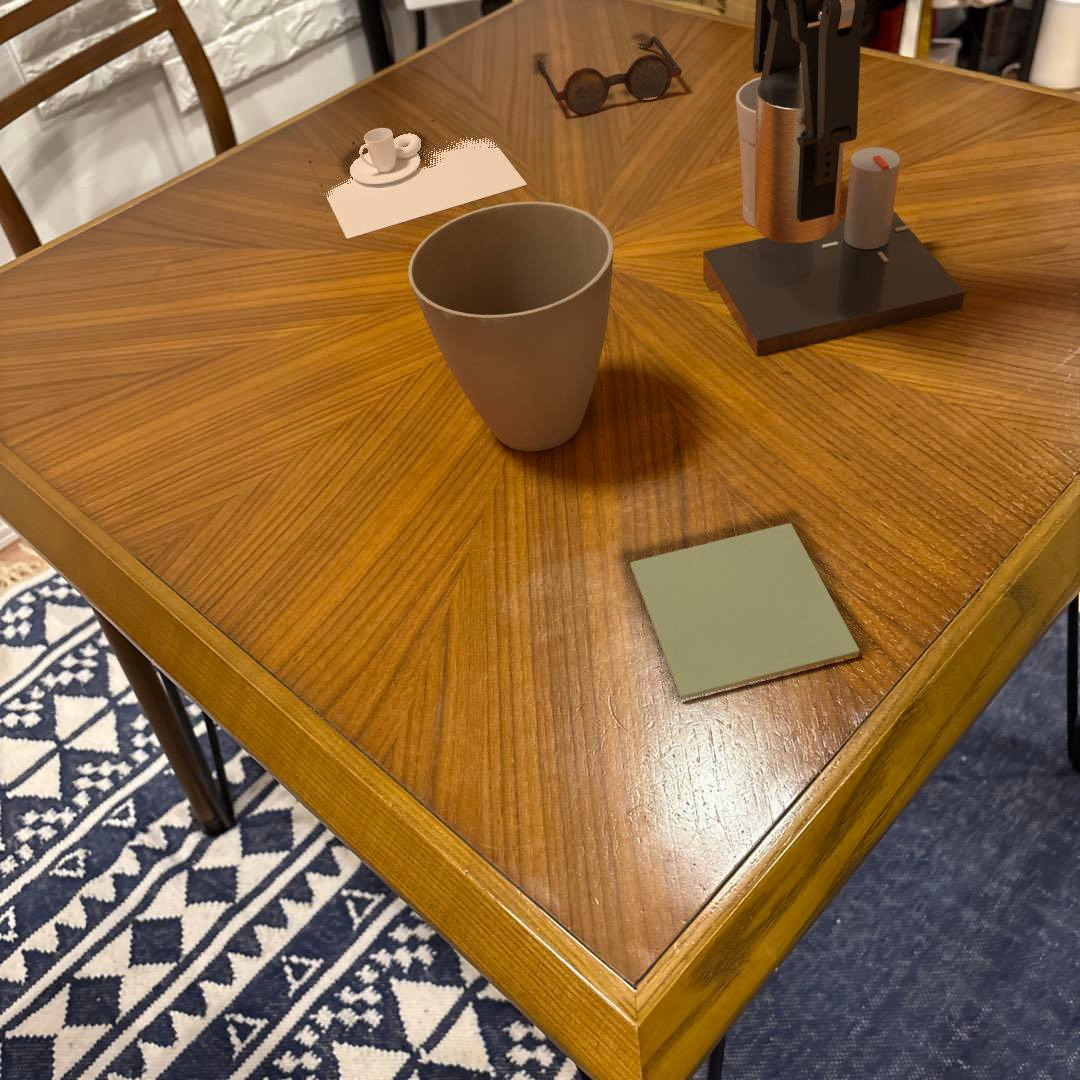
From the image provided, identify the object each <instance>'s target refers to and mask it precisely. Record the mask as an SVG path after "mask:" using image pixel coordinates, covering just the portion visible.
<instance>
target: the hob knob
mask: <svg viewBox="0 0 1080 1080" xmlns="http://www.w3.org/2000/svg"><path fill="white" fill-rule="evenodd" d="M849 164H850V165H849V173H848V185H847V195H846V204H845V205H846V206H845V215H844V220H845V225H844V235H843V238H844V240H845V242H846V243H847V244H848V245H850V246H852V247H855V248H858V249H876V248H879V247H882V246H884V245H885V244H886V243H887V242H888V241H889V239H890V234H891V226H892V219H893V211H894V212H895V210H894V209H895V204H896V203H895V202H896V196H897V188H898V181H899V173H900V165H901V157H900V155H899V153H897V152H896V151H895V150H892V149H890V148H887V147H881V146H880V147H879V146H871V147H865V148H862V149H859V150H857V151H856V152H854V153H853V154H852V155H851V157H850V163H849Z"/></svg>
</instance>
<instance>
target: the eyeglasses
mask: <svg viewBox="0 0 1080 1080" xmlns="http://www.w3.org/2000/svg"><path fill="white" fill-rule="evenodd" d="M654 44H655V45H656V46H657V48H658V49H659V51H660V52H661V54H662V55H663V56H664V58H665V59H666V60H665V59H664V58H663V57H661V56H659V55H656V54H644V55H641V56H640V57H638V58H636V59H635V60H634V61H633V62H632V63H631V64H630V66H629V67H628V69H627V71H626V72H624V73H616V74H611V75H609V76H604V75H603V74H602V73H601V72H599V71H598V70H597V69H595V68H594V67H582V68H579V69H577V70H575V71H574V72H572V73H571V74H570V75H569V76H568V78H567V79H566V80H565V83H564V86H563V89H562V90H561V91H557V89H556V88H555V85H554V83H553V82H552V80H551V78H550V76H549V74H548V72H547V70H546V69H545V67H544V62H542V61H541V60H540V59H539V60H537V61H536V62H537V68H538V71H540V72H541V74H542V75H543V78H544V79H545V82H546V84H547V86H548V88H549V90H550V92H551V94H552V97H553V98H554V100H555V101H556V102H559V101H564V103H565V105H566V106H567V109H569V111H571V112H572V113H574V114H576V115H578V116H587V115H586V114H588V115H590V114H589V113H591V114H593V113H592V112H594V113H595V111H596V112H597V111H598V110H600V109H601V108H602V107H603V105H604V104H605V102H606V101H607V98H608V95H609V91H610V89H611V88H612V87H613V86H616V85H622V84H623V85H624V86H625V88H626V90H627V91H628V92H629V94H630V95H631V96H632V97H633V98H634V99H636V100H638V101H641V100H642V99H644V98H646V99H647V98H650V97H651V98H652V97H656V96H657V97H660V96H661V97H662V96H664V95H665V94H666V92H667V91H668V90H669V88H670V86H671V82H672V80H673V78H676V77H680V76H681V75H682V68H681V67H680V66H679V65H678V63H677V61H675V60H674V58H673V57H672V55H671V54H670V52H668V50H667V48H665V46H664V45H663V43H662V42H661V41H660V40H659V39H658V38H657V37H656V36H651V37H650V38H649V40H648V42H647V43H646V42H638V43H637V46H638V45H640V46H643V47H645V48H647V49H650V48H652V46H653V45H654ZM661 97H660V98H661Z"/></svg>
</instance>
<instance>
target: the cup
mask: <svg viewBox="0 0 1080 1080" xmlns="http://www.w3.org/2000/svg"><path fill="white" fill-rule="evenodd" d="M761 77H762V76H759V77H756V78H754V79H751V80H749V81H747V82H746V83H744V84H742V86H741V87H740V88H739V89H737V91H736V94H735V104H736V116H737V128H738V129H737V130H738V139H739V154H740V155H739V156H740V157H739V158H740V170H741V171H740V172H741V187H742V188H741V189H742V190H741V191H742V218H743V220H744V222H745V223H747V224H748V225H749V226H751V227H752V228H756V227H755V223H754V215H755V142H756V89H757V86H758V84H759V83H760V82H761Z"/></svg>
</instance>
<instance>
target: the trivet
mask: <svg viewBox="0 0 1080 1080" xmlns="http://www.w3.org/2000/svg"><path fill="white" fill-rule="evenodd" d="M629 566H630V570H631V569H632V572H633V574H634V577H635V579H634V581H635V580H636V582H637V585H638V587H637V589H638V588H639V590H640V593H641V595H642V598H643V601H644V603H645V606H646V608H645V610H646V609H647V611H648V614H649V616H650V619H651V622H652V624H653V627H654V630H655V632H656V635H657V637H658V640H659V643H660V645H661V648H662V651H663V653H664V656H665V659H666V661H667V664H668V666H669V669H670V672H671V674H672V677H673V680H674V682H675V685H676V687H677V690H678V693H679V695H680V698H681V699H686V698H690V697H694V696H698V695H702V694H706V693H710V692H714V691H718V690H722V689H726V688H729V687H733V686H737V685H741V684H745V683H749V682H753V681H757V680H761V679H765V678H769V677H773V676H776V675H780V674H784V673H788V672H792V671H796V670H800V669H804V668H808V667H812V666H816V665H820V664H824V663H827V662H831V661H835V660H839V659H843V658H847V657H851V656H855V655H859V656H860V651H861V650H860V648H859V646H858V644H857V642H856V641H855V639H854V636H853V635H852V633H851V632H850V630H849V628H848V626H847V624H846V622H845V620H844V619H843V617H842V615H841V613H840V611H839V609H838V608H837V606H836V604H835V602H834V600H833V598H832V596H831V594H830V592H829V590H828V589H827V587H826V585H825V583H824V581H823V580H822V578H821V575H820V574H819V572H818V570H817V568H816V566H815V564H814V563H813V561H812V559H811V557H810V555H809V553H808V551H807V550H806V547H805V546H804V544H803V542H802V541H801V539H800V537H799V535H798V533H797V531H796V529H795V527H794V526H793V524H792V523H791V522H789V523H785V524H781V525H776V526H772V527H768V528H764V529H759V530H756V531H752V532H748V533H742V534H739V535H735V536H731V537H728V538H723V539H719V540H714V541H710V542H706V543H703V544H698V545H695V546H690V547H685V548H682V549H679V550H675V551H670V552H666V553H662V554H658V555H654V556H650V557H645V558H642V559H638V560H634V561H631V562H629ZM632 572H631V573H632ZM633 574H632V575H633ZM634 577H633V578H634ZM636 582H635V583H636ZM637 585H636V586H637ZM639 590H638V591H639ZM640 593H639V594H640ZM641 595H640V596H641ZM642 598H641V599H642ZM643 601H642V602H643ZM644 603H643V604H644ZM645 606H644V607H645ZM647 611H646V612H647ZM648 614H647V615H648ZM649 616H648V617H649ZM650 619H649V620H650ZM651 622H650V623H651ZM652 624H651V625H652ZM653 627H652V628H653ZM654 630H653V631H654ZM655 632H654V633H655ZM656 635H655V636H656ZM657 637H656V638H657ZM658 640H657V641H658ZM659 643H658V644H659ZM660 645H659V646H660ZM661 648H660V649H661ZM662 651H661V652H662ZM663 653H662V654H663ZM664 656H663V657H664ZM665 659H664V660H665ZM666 661H665V662H666ZM667 664H666V665H667ZM668 666H667V667H668ZM669 669H668V670H669ZM670 672H669V673H670ZM671 674H670V675H671ZM672 677H671V678H672ZM673 680H672V681H673ZM674 682H673V683H674ZM675 685H674V686H675ZM676 687H675V688H676ZM677 690H676V691H677ZM678 693H677V694H678ZM679 695H678V696H679ZM680 698H679V699H680Z"/></svg>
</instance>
